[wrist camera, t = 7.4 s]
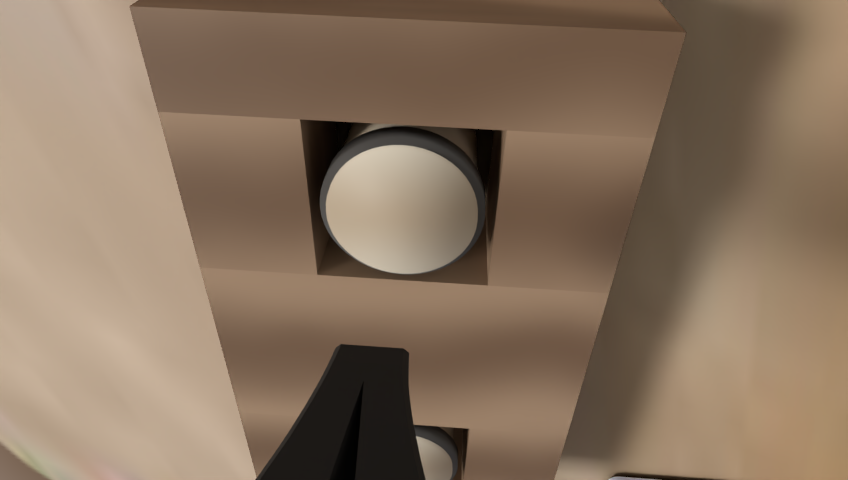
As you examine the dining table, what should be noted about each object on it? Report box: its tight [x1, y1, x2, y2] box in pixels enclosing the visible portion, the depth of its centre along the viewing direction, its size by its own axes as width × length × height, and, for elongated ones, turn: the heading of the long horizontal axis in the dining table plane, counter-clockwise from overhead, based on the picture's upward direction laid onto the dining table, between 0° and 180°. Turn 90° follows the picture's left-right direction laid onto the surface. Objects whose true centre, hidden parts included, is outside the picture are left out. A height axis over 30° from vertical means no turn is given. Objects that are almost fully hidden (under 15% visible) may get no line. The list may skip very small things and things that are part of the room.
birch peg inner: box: [414, 425, 458, 480], centre depth 24 cm, size 4×4×4 cm
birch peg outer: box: [320, 122, 485, 275], centre depth 17 cm, size 4×4×4 cm
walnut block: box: [130, 0, 686, 480], centre depth 21 cm, size 22×12×4 cm, turn 178°
